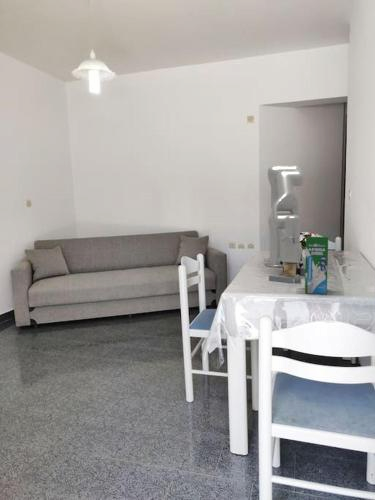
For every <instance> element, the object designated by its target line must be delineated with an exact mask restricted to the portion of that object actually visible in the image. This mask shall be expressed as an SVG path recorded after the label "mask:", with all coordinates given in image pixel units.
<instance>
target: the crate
mask: <svg viewBox="0 0 375 500" xmlns="http://www.w3.org/2000/svg"><path fill="white" fill-rule="evenodd" d="M296 269H297V265H296V263H288V262H287V263H284V273H283V274H284V277H290V278H294V276H296Z"/></svg>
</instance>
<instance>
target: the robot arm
mask: <svg viewBox="0 0 375 500" xmlns="http://www.w3.org/2000/svg"><path fill="white" fill-rule="evenodd" d="M304 176H305V175H304V173H303V171H302V169H301V168H300V167H299V165H294V164H293V165H292V164H291V165H288V164H287V165H282V164H281V165H273V166H270V167H269V168H268V169H267V178H268V182H269V185H270V208H271V212H270V215H269V216H268V217H267V220H268V221H267V224H268V230H269V257H264V258H263V262H266V266H268V267H270V268H282V274H284V263H287V262H288V263H296V265H297V269H296V276H297V275H300V272H301V268H303V266H304V265H306V257H304V256H303V248H302V243H301V242H300V240H301V239H300V238H301V218H300V216H299V211H300V210H299V205H300V204H299V198H298V196H297V195H295V190H294V189H295V188H294V187H301V186H303V184H304V183H305V180H304V179H305V177H304ZM279 212H285V213H279ZM286 212H287V213H286ZM283 230H284V232H283Z"/></svg>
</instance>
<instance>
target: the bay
mask: <svg viewBox="0 0 375 500" xmlns="http://www.w3.org/2000/svg"><path fill="white" fill-rule="evenodd" d="M303 279H305V267H301V272H300V275H297V276H294V278H290V277H284V273H282V274H281V275H271V274H270V275H268V281H269V282H276V283H286V284H290V285H291V284H301V283H302V280H303Z"/></svg>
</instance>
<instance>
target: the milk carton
mask: <svg viewBox="0 0 375 500" xmlns="http://www.w3.org/2000/svg"><path fill="white" fill-rule="evenodd" d="M305 259H306V263H305V264H304V265H305V267H304V268H305V277H304V282H305V283H304V294H313V295H314V294H315V295H327V294H328V268H329V267H328V263H329V262H328V261H329V260H328V259H329V236H322V235H312V236H306V237H305Z"/></svg>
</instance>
